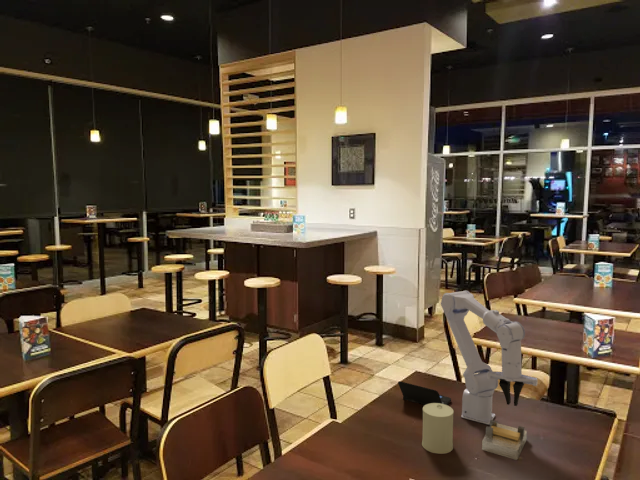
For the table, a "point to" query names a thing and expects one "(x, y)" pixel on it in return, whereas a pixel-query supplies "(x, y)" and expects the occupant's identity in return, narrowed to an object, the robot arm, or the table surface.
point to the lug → (521, 431)
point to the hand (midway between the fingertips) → (512, 404)
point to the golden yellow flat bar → (505, 433)
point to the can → (437, 428)
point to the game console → (421, 394)
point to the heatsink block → (503, 442)
